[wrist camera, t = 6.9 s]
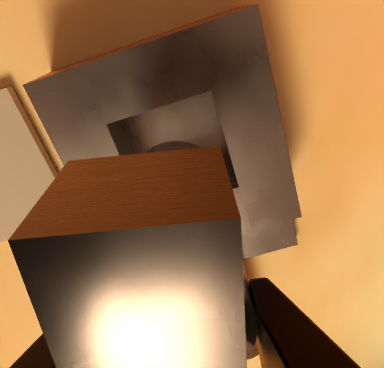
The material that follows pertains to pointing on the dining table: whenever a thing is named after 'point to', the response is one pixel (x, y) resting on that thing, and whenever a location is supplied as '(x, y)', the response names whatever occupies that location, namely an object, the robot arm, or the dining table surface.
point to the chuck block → (185, 113)
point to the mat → (19, 164)
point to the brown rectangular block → (140, 262)
